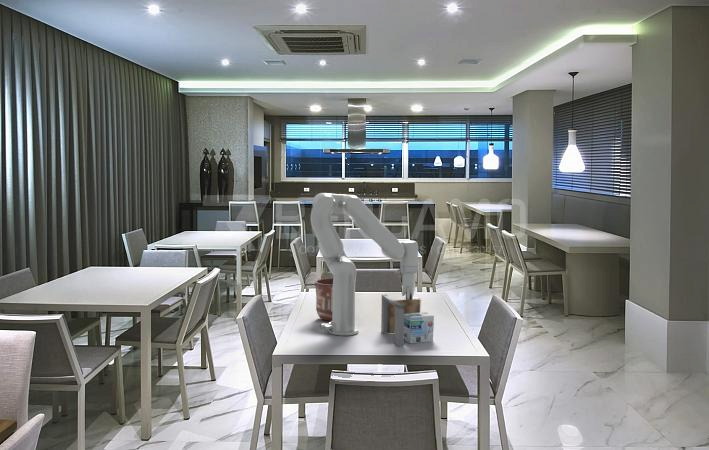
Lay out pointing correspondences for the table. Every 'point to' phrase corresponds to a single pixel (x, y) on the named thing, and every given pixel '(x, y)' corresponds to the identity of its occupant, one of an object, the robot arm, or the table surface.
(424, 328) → the light bulb box
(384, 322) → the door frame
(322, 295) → the pottery
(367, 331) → the table surface
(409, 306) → the door
